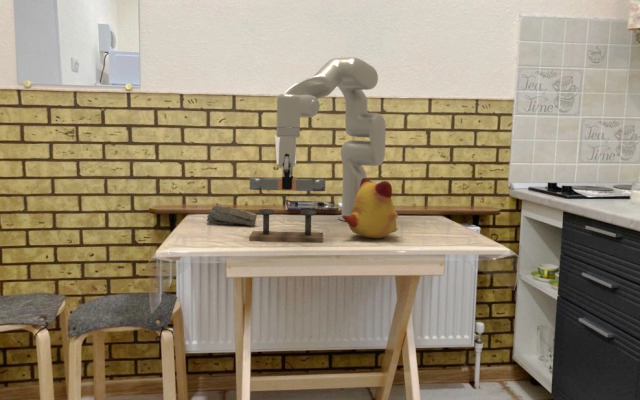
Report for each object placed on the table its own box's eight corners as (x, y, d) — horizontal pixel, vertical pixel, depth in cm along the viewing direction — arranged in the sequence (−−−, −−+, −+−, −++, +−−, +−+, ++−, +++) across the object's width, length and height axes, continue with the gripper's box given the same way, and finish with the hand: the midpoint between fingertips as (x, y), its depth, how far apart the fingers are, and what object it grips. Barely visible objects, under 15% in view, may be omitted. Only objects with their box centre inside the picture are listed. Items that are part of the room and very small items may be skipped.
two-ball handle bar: (325, 189, 192) (325, 178, 192) (325, 191, 187) (325, 180, 187) (250, 187, 192) (250, 176, 192) (248, 189, 187) (248, 178, 187)
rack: (322, 236, 196) (323, 209, 195) (322, 242, 187) (323, 213, 186) (252, 235, 197) (252, 207, 195) (249, 240, 188) (249, 212, 186)
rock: (245, 240, 209) (256, 214, 209) (200, 220, 210) (211, 195, 210) (250, 238, 220) (260, 214, 220) (207, 220, 221) (217, 196, 221)
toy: (409, 240, 193) (412, 181, 190) (359, 247, 182) (361, 184, 179) (373, 230, 210) (375, 175, 207) (325, 235, 198) (326, 178, 196)
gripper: (278, 131, 196) (278, 185, 198) (274, 133, 179) (273, 191, 181) (301, 132, 195) (300, 185, 198) (298, 133, 179) (297, 192, 181)
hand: (287, 187), depth 190 cm, fingers closed on two-ball handle bar, 4 cm apart
